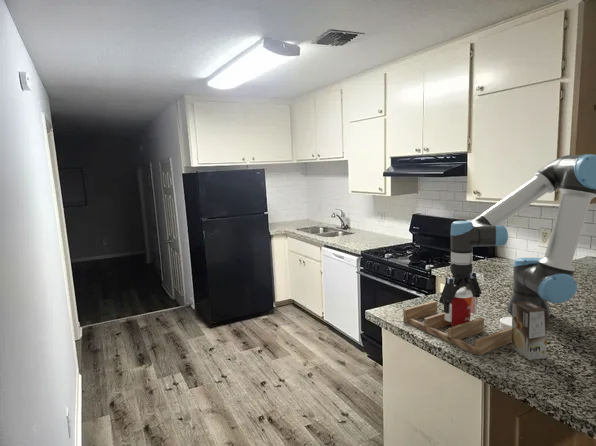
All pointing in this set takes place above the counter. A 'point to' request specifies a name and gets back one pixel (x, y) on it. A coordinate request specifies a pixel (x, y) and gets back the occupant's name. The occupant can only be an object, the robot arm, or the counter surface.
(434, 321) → the oak rack
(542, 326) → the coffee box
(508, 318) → the white round dish
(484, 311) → the counter surface
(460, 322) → the coffee cup
